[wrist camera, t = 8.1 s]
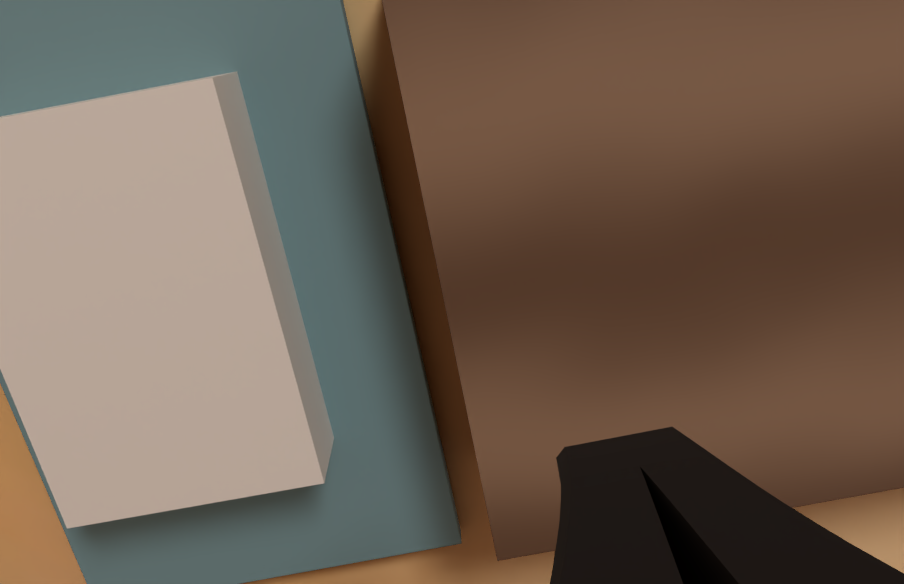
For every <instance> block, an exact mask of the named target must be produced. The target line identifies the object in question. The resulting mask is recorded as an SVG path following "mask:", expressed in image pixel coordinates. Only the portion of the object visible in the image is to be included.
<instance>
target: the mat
mask: <svg viewBox="0 0 904 584" xmlns="http://www.w3.org/2000/svg"><path fill="white" fill-rule="evenodd" d="M231 72H237V73H238V77H239V81H240V85H241V89H242V92H243V96H244V100H245V104H246V107H247V111H248V115H249V119H250V123H251V126H252V130H253V134H254V138H255V141H256V145H257V149H258V153H259V157H260V160H261V164H262V168H263V172H264V175H265V179H266V183H267V187H268V191H269V194H270V198H271V202H272V206H273V209H274V213H275V217H276V221H277V224H278V228H279V232H280V236H281V240H282V243H283V247H284V251H285V255H286V258H287V262H288V266H289V270H290V274H291V277H292V281H293V285H294V289H295V292H296V296H297V300H298V304H299V308H300V311H301V315H302V319H303V323H304V326H305V330H306V334H307V338H308V342H309V345H310V349H311V353H312V357H313V360H314V364H315V368H316V372H317V376H318V379H319V383H320V387H321V391H322V394H323V398H324V402H325V406H326V409H327V413H328V417H329V421H330V425H331V428H332V432H333V436H334V441H333V445H332V450H331V455H330V459H329V464H328V469H327V473H326V478H325V483H323V484H318V485H312V486H306V487H301V488H295V489H289V490H284V491H278V492H272V493H267V494H261V495H255V496H249V497H244V498H238V499H232V500H227V501H221V502H215V503H210V504H204V505H198V506H193V507H187V508H181V509H176V510H170V511H164V512H159V513H153V514H147V515H142V516H136V517H130V518H124V519H119V520H113V521H107V522H102V523H96V524H90V525H85V526H79V527H73V528H68V529H67V527H66V525H65V523H64V520H63V518H62V515H61V513H60V511H59V508H58V506H57V504H56V501H55V499H54V496H53V494H52V492H51V489H50V487H49V484H48V482H47V480H46V477H45V475H44V472H43V470H42V468H41V465H40V463H39V460H38V458H37V456H36V453H35V451H34V449H33V446H32V444H31V441H30V439H29V437H28V434H27V432H26V429H25V427H24V425H23V422H22V420H21V417H20V415H19V413H18V410H17V408H16V406H15V403H14V401H13V398H12V396H11V394H10V391H9V389H8V386H7V384H6V382H5V379H4V377H3V374H2V372H1V370H0V384H1V386H2V388H3V391H4V393H5V395H6V397H7V400H8V402H9V404H10V407H11V409H12V411H13V414H14V416H15V418H16V421H17V423H18V425H19V428H20V430H21V432H22V435H23V437H24V439H25V441H26V444H27V446H28V448H29V451H30V453H31V455H32V458H33V460H34V462H35V465H36V467H37V469H38V472H39V474H40V476H41V478H42V481H43V483H44V485H45V488H46V490H47V492H48V495H49V497H50V499H51V502H52V504H53V506H54V509H55V511H56V513H57V515H58V518H59V520H60V522H61V525H62V527H63V529H64V532H65V534H66V536H67V539H68V541H69V543H70V546H71V548H72V550H73V552H74V555H75V557H76V559H77V562H78V564H79V566H80V569H81V571H82V573H83V576H84V578H85V580H86V583H87V584H240V583H246V582H251V581H257V580H262V579H268V578H273V577H279V576H284V575H290V574H295V573H301V572H306V571H312V570H318V569H323V568H329V567H334V566H340V565H345V564H351V563H356V562H362V561H367V560H373V559H378V558H384V557H389V556H395V555H400V554H406V553H411V552H417V551H422V550H428V549H433V548H439V547H445V546H450V545H456V544H461V530H460V525H459V521H458V516H457V512H456V507H455V503H454V498H453V494H452V489H451V485H450V480H449V476H448V471H447V467H446V462H445V458H444V453H443V449H442V444H441V440H440V435H439V431H438V426H437V422H436V417H435V413H434V408H433V404H432V399H431V395H430V390H429V386H428V381H427V377H426V372H425V368H424V363H423V359H422V354H421V350H420V345H419V341H418V336H417V332H416V327H415V323H414V318H413V314H412V309H411V305H410V300H409V296H408V291H407V287H406V282H405V278H404V273H403V269H402V264H401V260H400V255H399V251H398V246H397V242H396V237H395V233H394V228H393V224H392V219H391V215H390V210H389V206H388V201H387V197H386V192H385V188H384V183H383V179H382V174H381V170H380V165H379V161H378V156H377V152H376V147H375V143H374V138H373V134H372V129H371V125H370V121H369V116H368V112H367V107H366V103H365V98H364V94H363V89H362V85H361V80H360V76H359V71H358V67H357V62H356V58H355V53H354V49H353V44H352V40H351V35H350V31H349V26H348V22H347V17H346V13H345V8H344V4H343V0H0V117H1V116H6V115H11V114H17V113H22V112H27V111H32V110H38V109H43V108H48V107H53V106H59V105H64V104H69V103H74V102H80V101H85V100H90V99H95V98H100V97H106V96H111V95H116V94H121V93H127V92H132V91H137V90H142V89H148V88H153V87H158V86H163V85H169V84H174V83H179V82H184V81H190V80H195V79H200V78H205V77H210V76H216V75H221V74H226V73H231Z"/></svg>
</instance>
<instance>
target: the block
mask: <svg viewBox="0 0 904 584" xmlns="http://www.w3.org/2000/svg"><path fill="white" fill-rule="evenodd" d="M0 370H1V372H2V374H3V377H4V379H5V382H6V384H7V386H8V389H9V391H10V394H11V396H12V398H13V401H14V403H15V406H16V408H17V410H18V413H19V415H20V417H21V420H22V422H23V425H24V427H25V429H26V432H27V434H28V437H29V439H30V441H31V444H32V446H33V449H34V451H35V453H36V456H37V458H38V460H39V463H40V465H41V468H42V470H43V472H44V475H45V477H46V480H47V482H48V484H49V487H50V489H51V492H52V494H53V496H54V499H55V501H56V504H57V506H58V508H59V511H60V513H61V515H62V518H63V520H64V523H65V525H66V527H67V529H68V528H73V527H79V526H85V525H90V524H96V523H102V522H107V521H113V520H119V519H124V518H130V517H136V516H142V515H147V514H153V513H159V512H164V511H170V510H176V509H181V508H187V507H193V506H198V505H204V504H210V503H215V502H221V501H227V500H232V499H238V498H244V497H249V496H255V495H261V494H267V493H272V492H278V491H284V490H289V489H295V488H301V487H306V486H312V485H318V484H323V483H325V478H326V473H327V469H328V464H329V459H330V455H331V450H332V445H333V441H334V436H333V432H332V428H331V425H330V421H329V417H328V413H327V409H326V406H325V402H324V398H323V394H322V391H321V387H320V383H319V379H318V376H317V372H316V368H315V364H314V360H313V357H312V353H311V349H310V345H309V342H308V338H307V334H306V330H305V326H304V323H303V319H302V315H301V311H300V308H299V304H298V300H297V296H296V292H295V289H294V285H293V281H292V277H291V274H290V270H289V266H288V262H287V258H286V255H285V251H284V247H283V243H282V240H281V236H280V232H279V228H278V224H277V221H276V217H275V213H274V209H273V206H272V202H271V198H270V194H269V191H268V187H267V183H266V179H265V175H264V172H263V168H262V164H261V160H260V157H259V153H258V149H257V145H256V141H255V138H254V134H253V130H252V126H251V123H250V119H249V115H248V111H247V107H246V104H245V100H244V96H243V92H242V89H241V85H240V81H239V77H238V73H237V72H231V73H226V74H221V75H216V76H210V77H205V78H200V79H195V80H190V81H184V82H179V83H174V84H169V85H163V86H158V87H153V88H148V89H142V90H137V91H132V92H127V93H121V94H116V95H111V96H106V97H100V98H95V99H90V100H85V101H80V102H74V103H69V104H64V105H59V106H53V107H48V108H43V109H38V110H32V111H27V112H22V113H17V114H11V115H6V116H1V117H0Z"/></svg>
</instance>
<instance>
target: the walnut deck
mask: <svg viewBox="0 0 904 584" xmlns="http://www.w3.org/2000/svg"><path fill="white" fill-rule="evenodd" d="M382 3H383V8H384V13H385V17H386V22H387V27H388V32H389V37H390V42H391V47H392V51H393V56H394V61H395V66H396V71H397V76H398V80H399V85H400V90H401V95H402V100H403V105H404V110H405V114H406V119H407V124H408V129H409V134H410V139H411V143H412V148H413V153H414V158H415V163H416V168H417V173H418V177H419V182H420V187H421V192H422V197H423V202H424V206H425V211H426V216H427V221H428V226H429V231H430V236H431V240H432V245H433V250H434V255H435V260H436V265H437V270H438V274H439V279H440V284H441V289H442V294H443V299H444V303H445V308H446V313H447V318H448V323H449V328H450V333H451V337H452V342H453V347H454V352H455V357H456V362H457V366H458V371H459V376H460V381H461V386H462V391H463V396H464V400H465V405H466V410H467V415H468V420H469V425H470V429H471V434H472V439H473V444H474V449H475V454H476V459H477V463H478V468H479V473H480V478H481V483H482V488H483V492H484V497H485V502H486V507H487V512H488V517H489V522H490V526H491V531H492V536H493V541H494V546H495V551H496V556H497V560H498V561H499V560H504V559H510V558H515V557H521V556H527V555H532V554H538V553H543V552H549V551H554V550H556V543H557V536H558V529H559V521H560V504H561V483H560V477H559V472H558V466H557V460H556V457H557V456H558V455H559V453H560V452H561V451H562V450H563V448H564V447H567V446H572V445H578V444H583V443H588V442H593V441H599V440H604V439H609V438H615V437H620V436H625V435H630V434H636V433H641V432H646V431H651V430H657V429H662V428H667V427H674V428H675V429H677V430H678V431H679V432H681V433H682V434H684V435H685V436H687V437H688V438H690V439H691V440H693V441H694V442H695V443H697V444H698V445H700V446H701V447H703V448H704V449H706V450H707V451H708V452H710V453H711V454H713V455H714V456H716V457H717V458H718V459H720V460H721V461H723V462H724V463H726V464H727V465H728V466H730V467H731V468H733V469H734V470H736V471H737V472H739V473H740V474H742V475H743V476H744V477H746V478H747V479H749V480H750V481H752V482H753V483H755V484H756V485H758V486H759V487H761V488H762V489H764V490H765V491H767V492H768V493H770V494H771V495H773V496H774V497H776V498H777V499H779V500H780V501H782V502H783V503H785V504H787V505H788V506H790V507H791V508H793V507H798V506H804V505H810V504H815V503H821V502H826V501H832V500H837V499H843V498H848V497H854V496H859V495H865V494H871V493H876V492H882V491H887V490H893V489H898V488H904V0H382Z"/></svg>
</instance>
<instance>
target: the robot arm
mask: <svg viewBox="0 0 904 584" xmlns="http://www.w3.org/2000/svg"><path fill="white" fill-rule="evenodd" d="M556 460H557V466H558V472H559V477H560V483H561V504H560V521H559V529H558V536H557V543H556V550H555V557H554V564H553V570H552V576H551V581H550V584H904V574H903V573H902V572H900V571H898V570H896V569H895V568H893V567H891V566H889V565H887V564H886V563H884V562H882V561H880V560H879V559H877V558H875V557H873V556H871V555H870V554H868V553H866V552H864V551H862V550H861V549H859V548H857V547H855V546H854V545H852V544H850V543H848V542H847V541H845V540H843V539H842V538H840V537H838V536H837V535H835V534H833V533H832V532H830V531H828V530H827V529H825V528H823V527H822V526H820V525H818V524H817V523H815V522H813V521H812V520H810V519H809V518H807V517H805V516H804V515H802V514H801V513H799V512H798V511H796V510H794V509H793V508H791V507H790V506H788V505H787V504H785V503H783V502H782V501H780V500H779V499H777V498H776V497H774V496H773V495H771V494H770V493H768V492H767V491H765V490H764V489H762V488H761V487H759V486H758V485H756V484H755V483H753V482H752V481H750V480H749V479H747V478H746V477H744V476H743V475H742V474H740V473H739V472H737V471H736V470H734V469H733V468H731V467H730V466H728V465H727V464H726V463H724V462H723V461H721V460H720V459H718V458H717V457H716V456H714V455H713V454H711V453H710V452H708V451H707V450H706V449H704V448H703V447H701V446H700V445H698V444H697V443H695V442H694V441H693V440H691V439H690V438H688V437H687V436H685V435H684V434H682V433H681V432H679V431H678V430H677V429H675V428H674V427H667V428H662V429H657V430H651V431H646V432H641V433H636V434H630V435H625V436H620V437H615V438H609V439H604V440H599V441H593V442H588V443H583V444H578V445H572V446H567V447H564V448H563V450H562V451H561V452H560V453H559V455H558V456H557V457H556Z"/></svg>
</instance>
